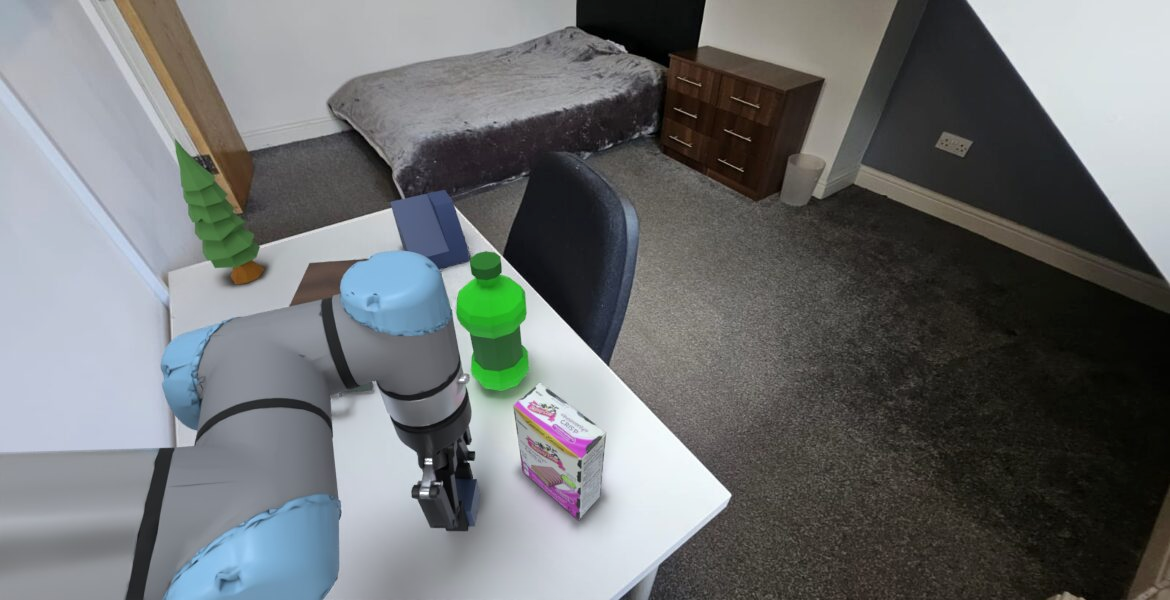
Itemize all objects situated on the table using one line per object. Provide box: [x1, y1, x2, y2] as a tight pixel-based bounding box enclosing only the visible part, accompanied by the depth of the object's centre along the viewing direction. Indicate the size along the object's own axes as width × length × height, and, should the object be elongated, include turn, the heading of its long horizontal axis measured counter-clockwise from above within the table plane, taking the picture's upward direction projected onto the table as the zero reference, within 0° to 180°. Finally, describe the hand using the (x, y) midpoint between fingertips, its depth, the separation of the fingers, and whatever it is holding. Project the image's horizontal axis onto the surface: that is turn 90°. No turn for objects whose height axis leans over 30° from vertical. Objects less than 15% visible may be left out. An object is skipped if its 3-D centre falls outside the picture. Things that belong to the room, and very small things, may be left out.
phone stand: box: [389, 189, 470, 270], centre depth 103 cm, size 12×12×12 cm
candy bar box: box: [512, 382, 607, 521], centre depth 61 cm, size 11×5×16 cm, turn 50°
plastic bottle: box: [455, 250, 530, 392], centre depth 72 cm, size 10×10×25 cm
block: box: [455, 478, 481, 527], centre depth 60 cm, size 4×4×4 cm
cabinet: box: [288, 258, 369, 307], centre depth 86 cm, size 16×14×10 cm
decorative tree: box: [174, 138, 265, 285], centre depth 90 cm, size 10×9×30 cm
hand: (461, 508), depth 61 cm, fingers closed on block, 4 cm apart
